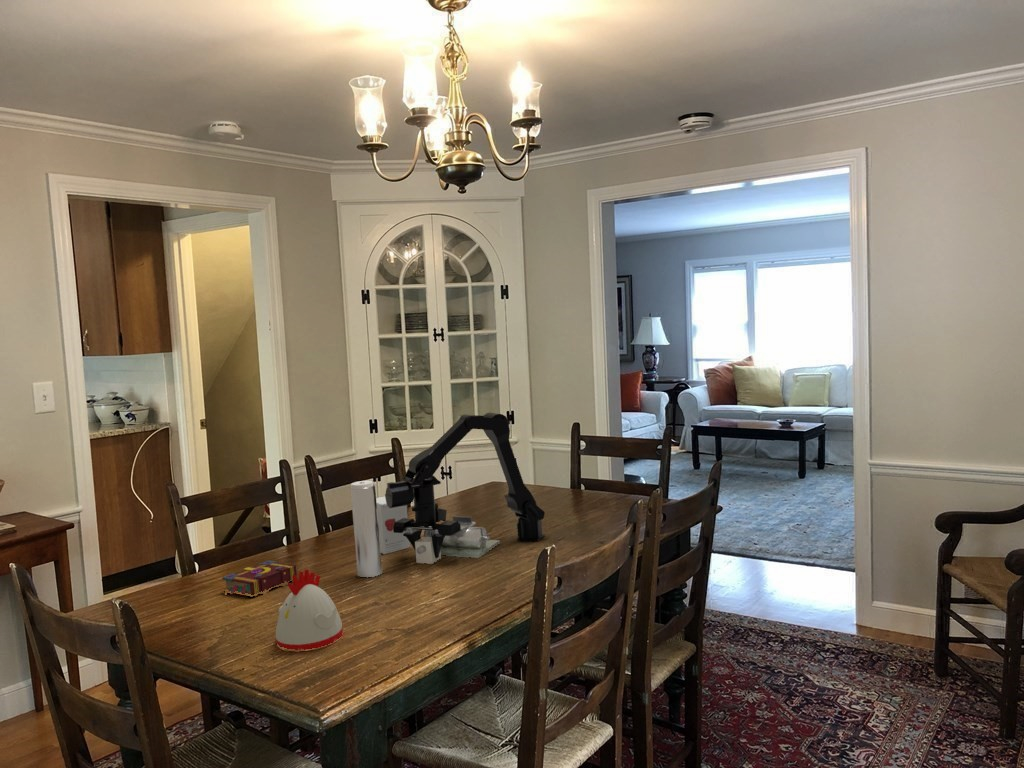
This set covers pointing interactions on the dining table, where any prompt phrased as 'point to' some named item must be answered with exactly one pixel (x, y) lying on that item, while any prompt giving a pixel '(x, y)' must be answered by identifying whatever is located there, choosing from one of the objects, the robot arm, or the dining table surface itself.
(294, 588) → the kitchen timer
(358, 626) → the dining table surface
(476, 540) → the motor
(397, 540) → the supplement box
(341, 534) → the dining table surface
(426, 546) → the off-white cube
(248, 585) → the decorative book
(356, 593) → the dining table surface
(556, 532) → the dining table surface
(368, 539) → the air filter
